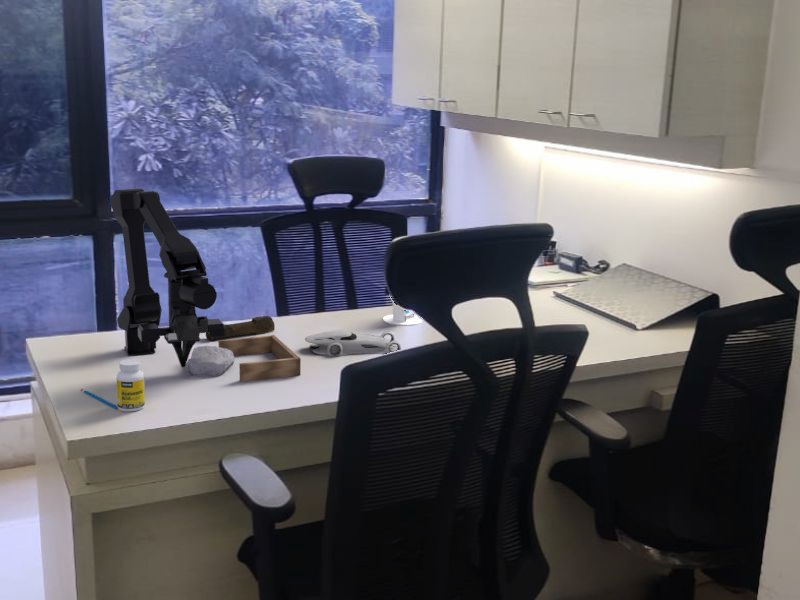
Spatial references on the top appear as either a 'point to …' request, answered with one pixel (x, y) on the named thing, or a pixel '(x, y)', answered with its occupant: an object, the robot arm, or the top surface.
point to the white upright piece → (401, 317)
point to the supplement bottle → (130, 386)
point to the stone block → (210, 361)
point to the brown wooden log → (247, 327)
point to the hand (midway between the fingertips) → (182, 366)
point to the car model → (351, 343)
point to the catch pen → (263, 369)
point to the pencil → (101, 399)
